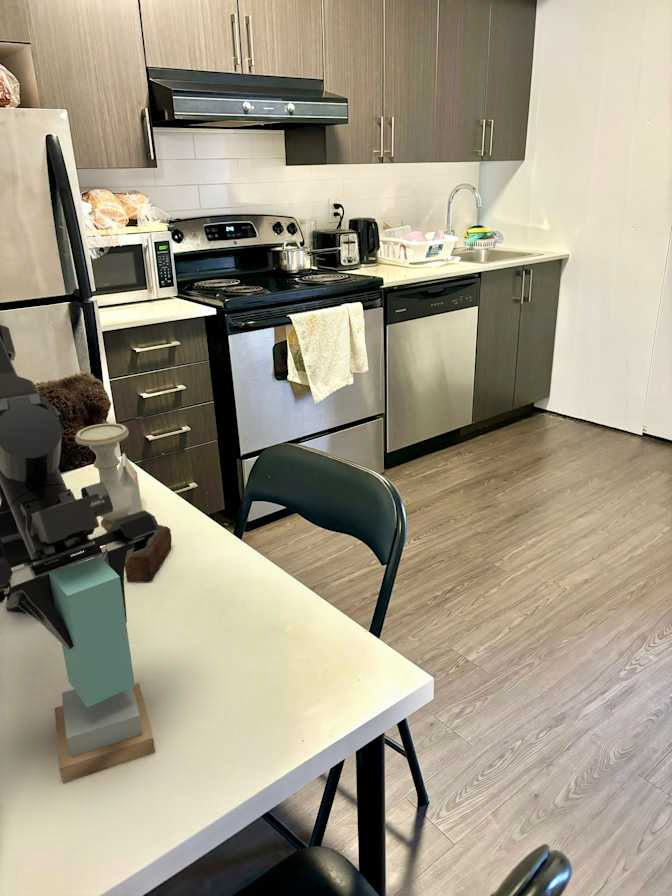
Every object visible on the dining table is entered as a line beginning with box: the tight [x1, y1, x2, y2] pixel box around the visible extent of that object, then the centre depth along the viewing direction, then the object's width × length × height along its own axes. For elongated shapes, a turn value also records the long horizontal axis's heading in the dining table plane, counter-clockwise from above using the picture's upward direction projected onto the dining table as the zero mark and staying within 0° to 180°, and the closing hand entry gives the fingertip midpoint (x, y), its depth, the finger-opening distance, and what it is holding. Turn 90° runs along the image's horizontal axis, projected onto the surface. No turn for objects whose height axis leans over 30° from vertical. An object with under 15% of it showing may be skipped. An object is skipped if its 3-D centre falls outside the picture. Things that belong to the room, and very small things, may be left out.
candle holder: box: [74, 422, 132, 558], centre depth 105 cm, size 9×9×20 cm
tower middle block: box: [61, 687, 143, 758], centre depth 71 cm, size 7×7×2 cm
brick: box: [124, 524, 172, 583], centre depth 104 cm, size 11×4×5 cm, turn 176°
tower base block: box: [54, 682, 156, 784], centre depth 72 cm, size 9×9×2 cm
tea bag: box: [117, 452, 143, 515], centre depth 120 cm, size 4×7×10 cm, turn 17°
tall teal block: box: [49, 556, 136, 708], centre depth 67 cm, size 5×5×13 cm
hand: (98, 636), depth 66 cm, fingers closed on tall teal block, 5 cm apart
